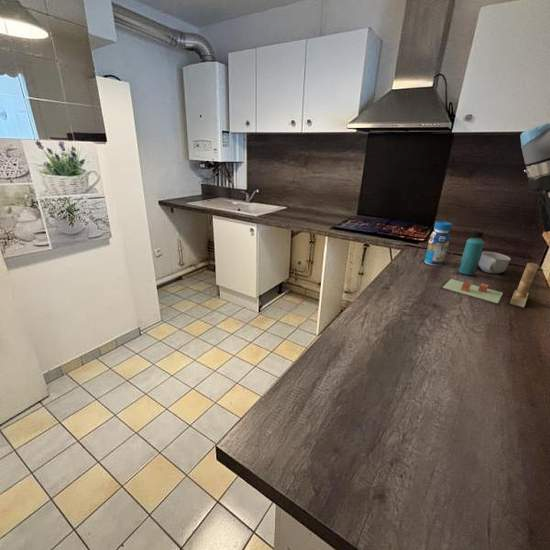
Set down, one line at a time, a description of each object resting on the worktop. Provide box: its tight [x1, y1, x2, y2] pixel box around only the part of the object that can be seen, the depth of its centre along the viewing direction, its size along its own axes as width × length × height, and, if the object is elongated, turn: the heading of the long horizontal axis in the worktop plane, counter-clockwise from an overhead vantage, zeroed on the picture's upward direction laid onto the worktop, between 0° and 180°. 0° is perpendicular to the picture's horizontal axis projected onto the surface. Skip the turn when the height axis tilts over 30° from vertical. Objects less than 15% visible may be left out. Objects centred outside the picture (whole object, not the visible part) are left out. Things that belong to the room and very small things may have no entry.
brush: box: [509, 262, 540, 308], centre depth 102 cm, size 4×10×15 cm, turn 137°
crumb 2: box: [478, 282, 490, 293], centre depth 111 cm, size 2×2×2 cm
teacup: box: [478, 251, 512, 275], centre depth 131 cm, size 14×11×8 cm
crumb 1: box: [461, 281, 472, 292], centre depth 111 cm, size 2×2×2 cm
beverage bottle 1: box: [423, 221, 452, 267], centre depth 138 cm, size 8×8×20 cm
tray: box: [442, 278, 504, 304], centre depth 112 cm, size 18×12×1 cm, turn 47°
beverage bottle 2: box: [458, 230, 485, 276], centre depth 124 cm, size 6×7×20 cm
